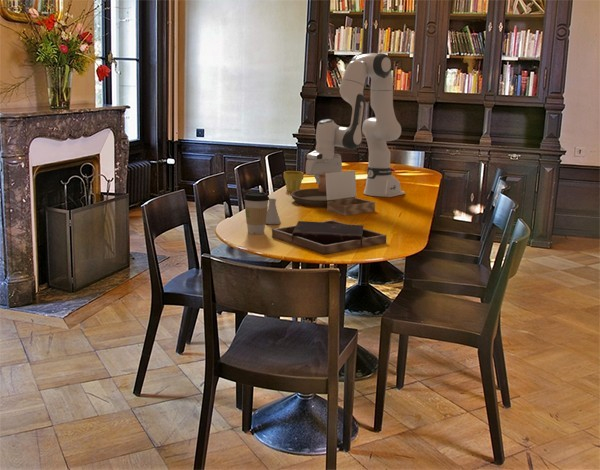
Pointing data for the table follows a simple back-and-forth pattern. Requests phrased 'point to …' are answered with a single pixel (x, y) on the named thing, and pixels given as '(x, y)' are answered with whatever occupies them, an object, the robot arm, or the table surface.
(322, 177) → the pot
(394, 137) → the robot arm
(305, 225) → the diary
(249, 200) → the coffee cup
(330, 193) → the upright grey panel
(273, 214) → the flask
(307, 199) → the plant saucer
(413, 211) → the table surface
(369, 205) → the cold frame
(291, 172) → the plant pot
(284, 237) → the desk tray
